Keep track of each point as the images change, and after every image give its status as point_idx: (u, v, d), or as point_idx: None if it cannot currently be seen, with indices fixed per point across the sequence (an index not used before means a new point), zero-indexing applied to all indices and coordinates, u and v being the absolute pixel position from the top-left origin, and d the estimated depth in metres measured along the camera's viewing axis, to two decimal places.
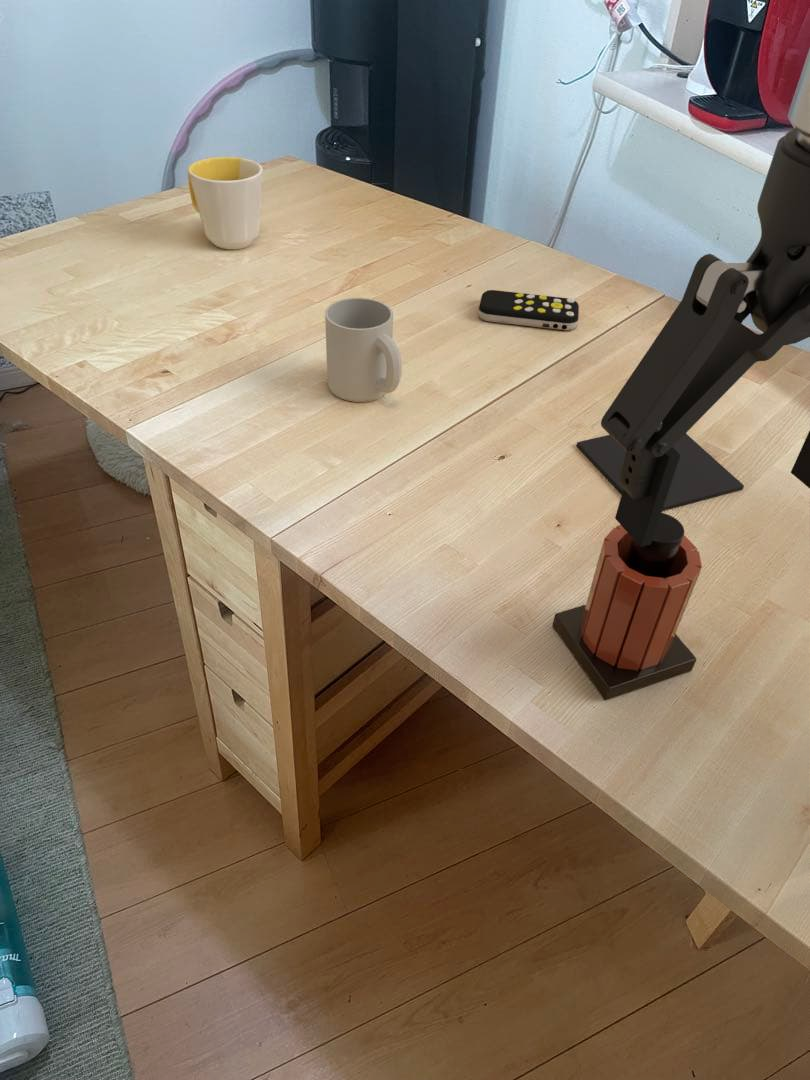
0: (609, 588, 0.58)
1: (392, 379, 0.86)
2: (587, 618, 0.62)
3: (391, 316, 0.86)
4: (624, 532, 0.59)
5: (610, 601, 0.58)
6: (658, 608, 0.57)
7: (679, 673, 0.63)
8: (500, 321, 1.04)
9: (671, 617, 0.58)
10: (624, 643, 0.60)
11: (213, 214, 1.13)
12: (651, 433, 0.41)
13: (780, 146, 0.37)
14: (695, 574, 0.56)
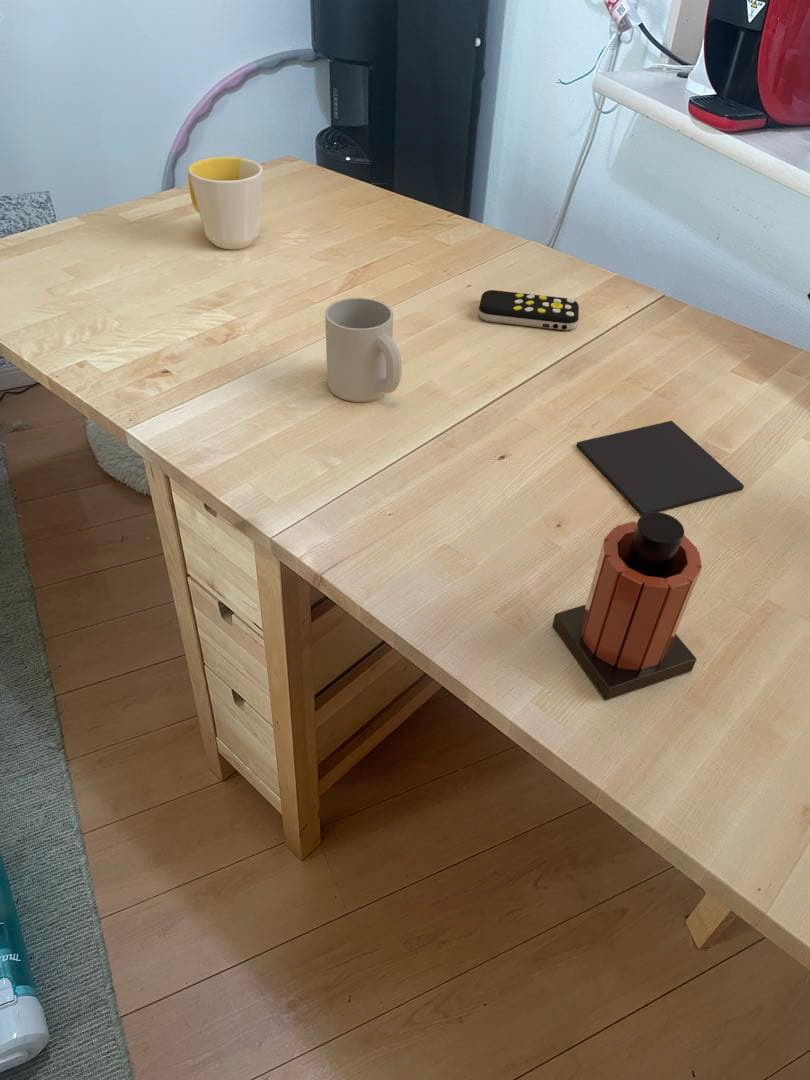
0: (609, 588, 0.58)
1: (392, 379, 0.86)
2: (587, 618, 0.62)
3: (391, 316, 0.86)
4: (624, 532, 0.59)
5: (610, 601, 0.58)
6: (658, 608, 0.57)
7: (679, 673, 0.63)
8: (500, 321, 1.04)
9: (671, 617, 0.58)
10: (624, 643, 0.60)
11: (213, 214, 1.13)
12: None
13: None
14: (695, 574, 0.56)
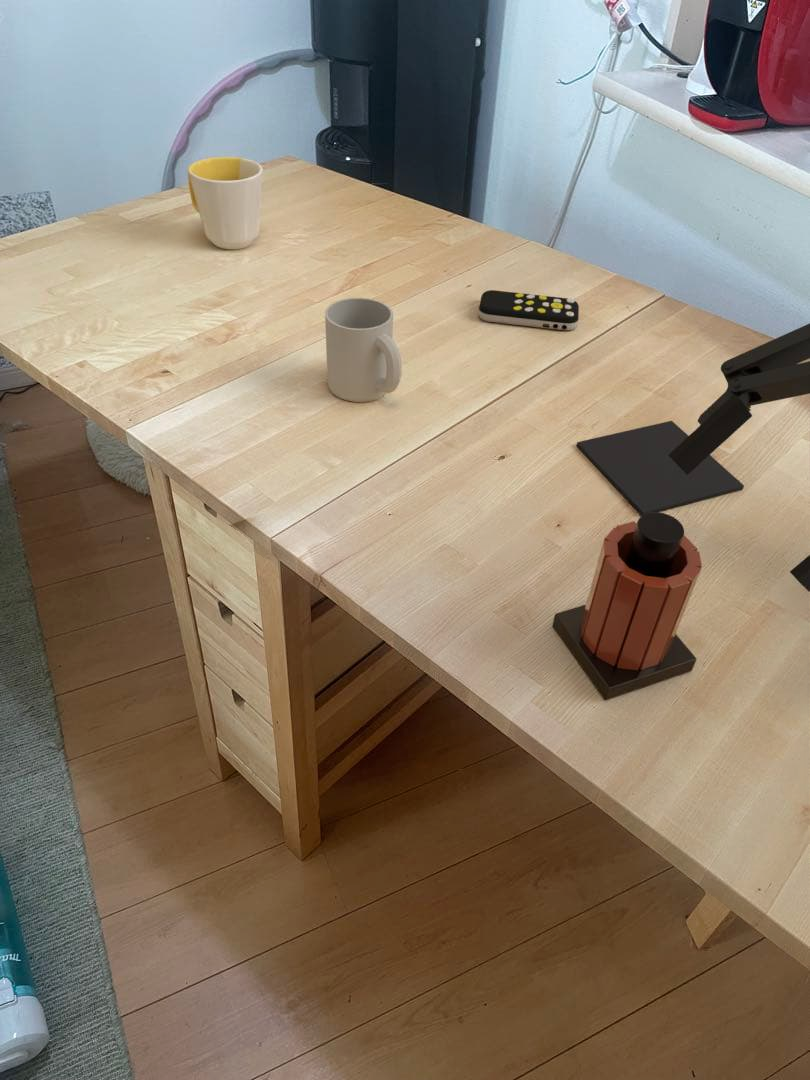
0: (609, 588, 0.58)
1: (392, 379, 0.86)
2: (587, 618, 0.62)
3: (391, 316, 0.86)
4: (624, 532, 0.59)
5: (610, 601, 0.58)
6: (658, 608, 0.57)
7: (679, 673, 0.63)
8: (500, 321, 1.04)
9: (671, 617, 0.58)
10: (624, 643, 0.60)
11: (213, 214, 1.13)
12: (740, 366, 0.62)
13: None
14: (695, 574, 0.56)
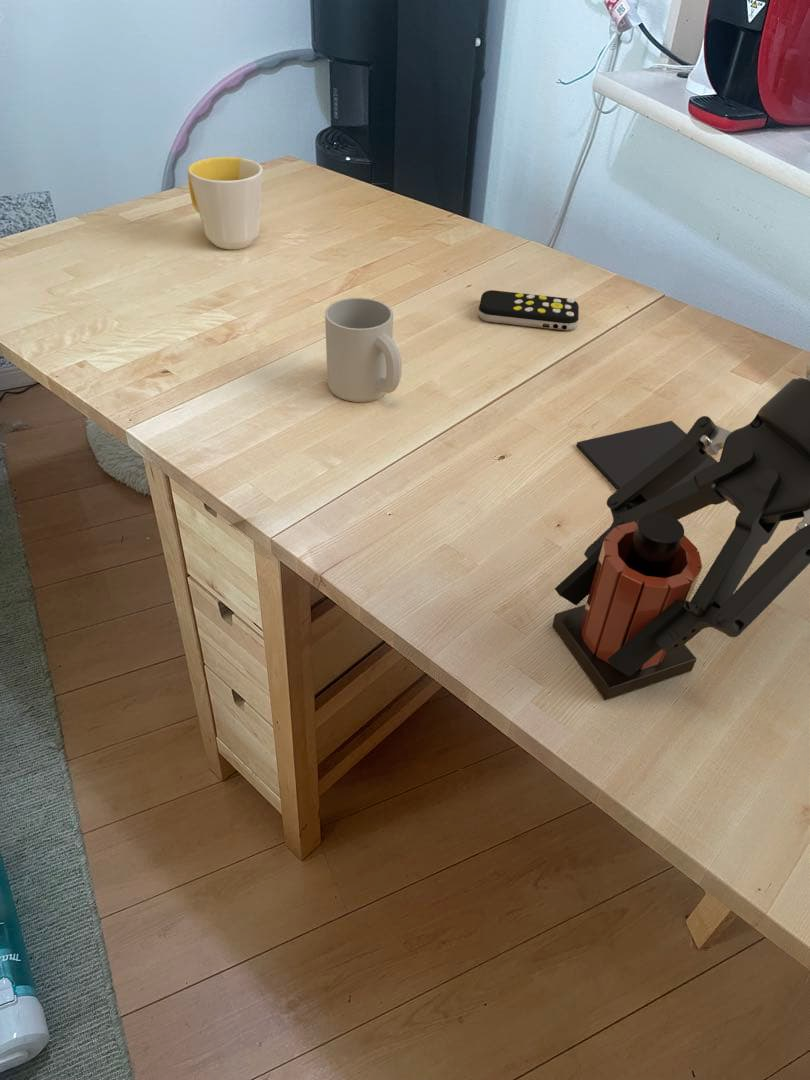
0: (609, 588, 0.58)
1: (392, 379, 0.86)
2: (587, 618, 0.62)
3: (391, 316, 0.86)
4: (624, 532, 0.59)
5: (610, 601, 0.58)
6: (658, 608, 0.57)
7: (679, 673, 0.63)
8: (500, 321, 1.04)
9: None
10: (624, 643, 0.60)
11: (213, 214, 1.13)
12: (624, 499, 0.62)
13: None
14: (695, 574, 0.56)
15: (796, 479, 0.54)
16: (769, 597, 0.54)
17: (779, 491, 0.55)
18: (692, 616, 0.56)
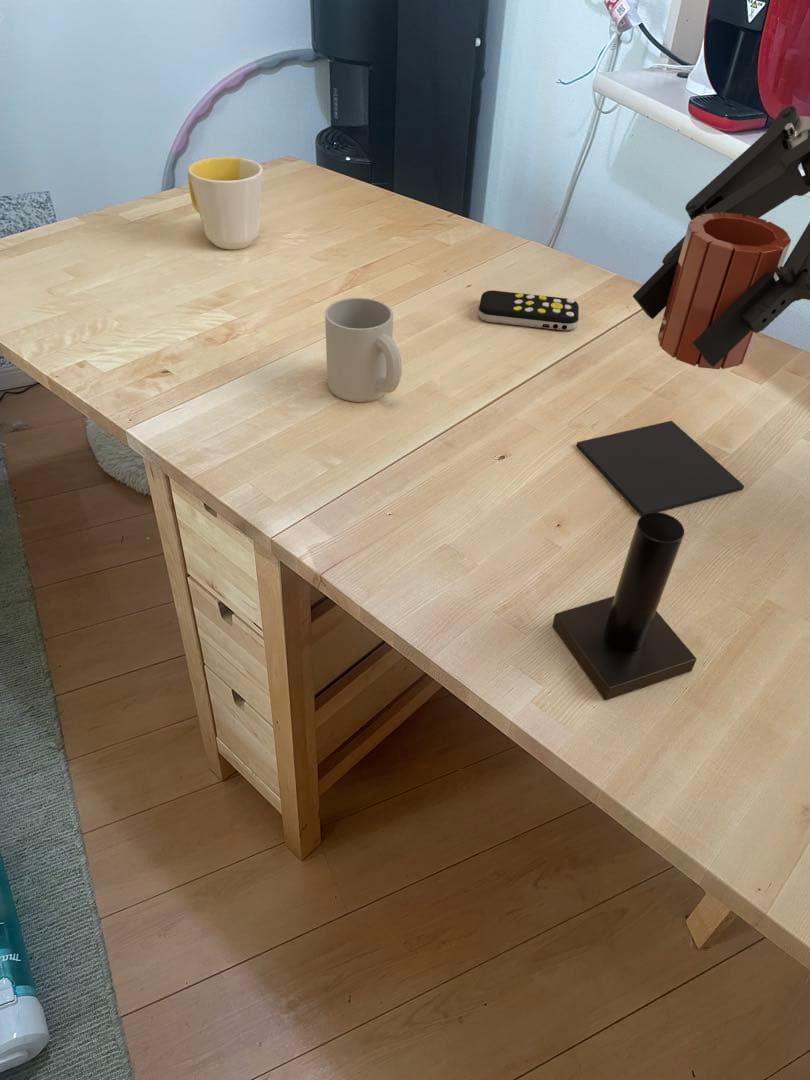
0: (695, 267, 0.57)
1: (392, 379, 0.86)
2: (667, 320, 0.61)
3: (391, 316, 0.86)
4: (708, 218, 0.58)
5: (696, 283, 0.57)
6: (747, 281, 0.56)
7: (679, 673, 0.63)
8: (500, 321, 1.03)
9: None
10: None
11: (213, 214, 1.13)
12: (705, 200, 0.61)
13: None
14: (785, 244, 0.55)
15: None
16: None
17: None
18: (782, 286, 0.55)
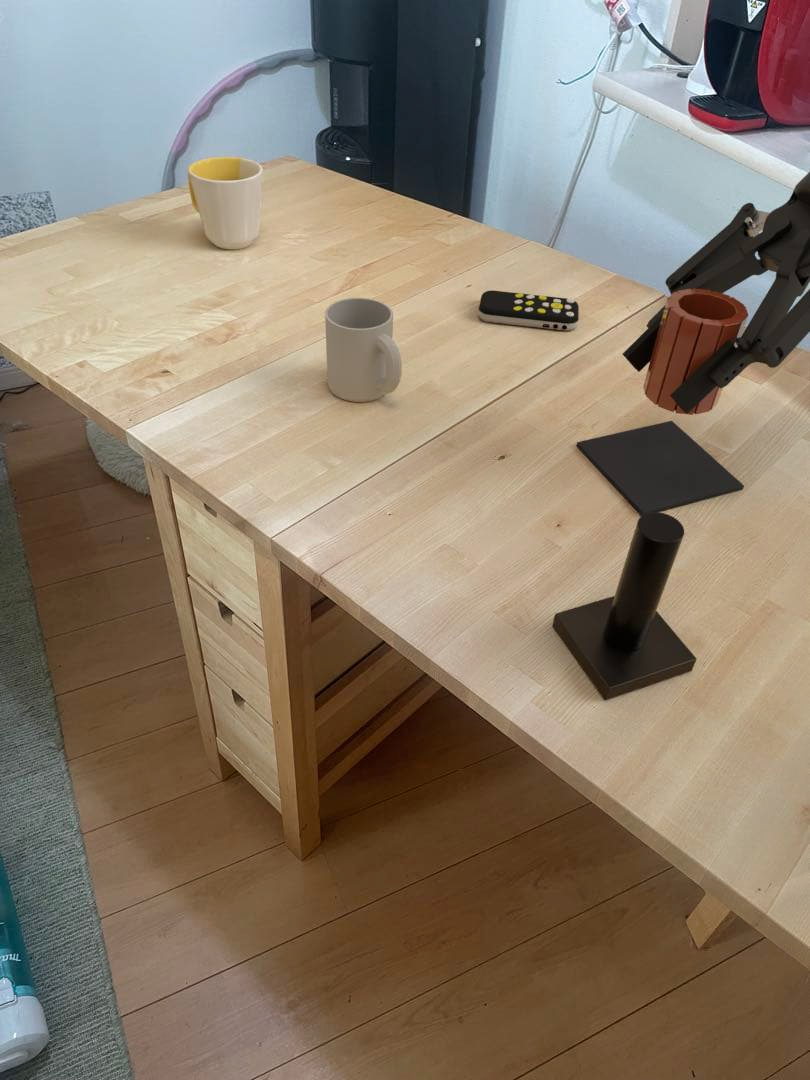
0: (672, 335, 0.71)
1: (392, 379, 0.86)
2: (650, 374, 0.75)
3: (391, 316, 0.86)
4: (683, 294, 0.72)
5: (673, 347, 0.71)
6: (713, 347, 0.70)
7: (679, 673, 0.63)
8: (500, 322, 1.03)
9: None
10: None
11: (213, 214, 1.13)
12: (681, 276, 0.75)
13: None
14: (743, 318, 0.69)
15: None
16: (804, 329, 0.67)
17: None
18: (741, 352, 0.69)
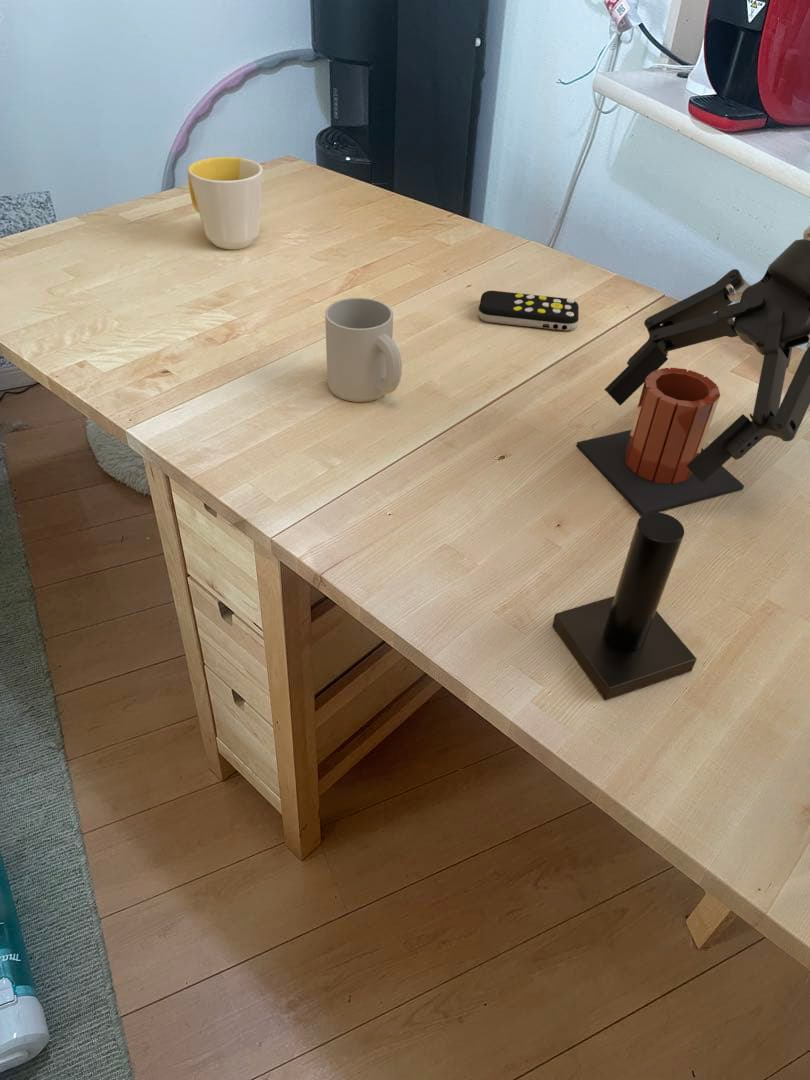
0: (650, 413, 0.76)
1: (392, 379, 0.86)
2: (631, 445, 0.81)
3: (391, 316, 0.86)
4: (660, 374, 0.78)
5: (650, 424, 0.77)
6: (687, 425, 0.75)
7: (679, 673, 0.63)
8: (500, 322, 1.03)
9: (697, 435, 0.76)
10: (660, 459, 0.78)
11: (213, 214, 1.13)
12: (658, 321, 0.82)
13: None
14: (715, 399, 0.75)
15: (796, 314, 0.72)
16: (806, 400, 0.70)
17: (786, 321, 0.73)
18: (758, 426, 0.71)
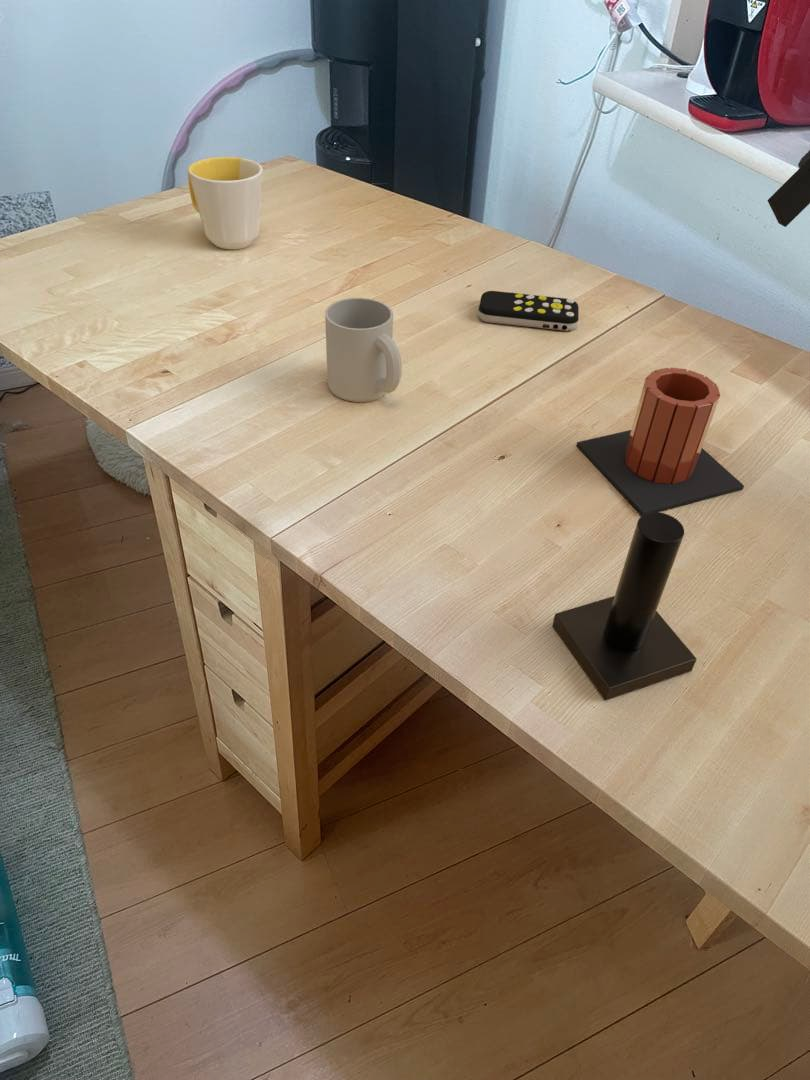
0: (650, 413, 0.76)
1: (392, 379, 0.86)
2: (631, 445, 0.81)
3: (391, 316, 0.86)
4: (660, 374, 0.78)
5: (650, 424, 0.77)
6: (687, 425, 0.75)
7: (679, 673, 0.63)
8: (500, 322, 1.03)
9: (697, 435, 0.76)
10: (660, 459, 0.78)
11: (213, 214, 1.13)
12: None
13: None
14: (715, 399, 0.75)
15: None
16: None
17: None
18: None
